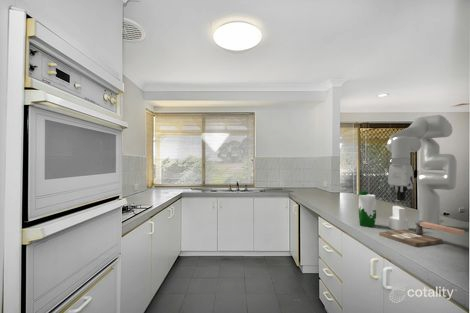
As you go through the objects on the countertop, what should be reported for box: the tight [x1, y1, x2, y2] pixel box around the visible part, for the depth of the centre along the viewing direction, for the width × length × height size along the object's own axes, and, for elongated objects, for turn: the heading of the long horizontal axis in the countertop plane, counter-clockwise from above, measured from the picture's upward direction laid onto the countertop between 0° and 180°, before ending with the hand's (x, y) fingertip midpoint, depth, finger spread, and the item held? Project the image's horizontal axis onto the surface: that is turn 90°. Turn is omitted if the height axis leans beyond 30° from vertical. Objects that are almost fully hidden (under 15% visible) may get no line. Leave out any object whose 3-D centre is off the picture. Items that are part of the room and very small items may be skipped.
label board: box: [378, 225, 444, 248], centre depth 120 cm, size 18×18×6 cm
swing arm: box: [415, 220, 466, 236], centre depth 115 cm, size 19×4×2 cm, turn 19°
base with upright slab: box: [388, 205, 410, 231], centre depth 138 cm, size 9×9×12 cm
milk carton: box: [358, 190, 377, 228], centre depth 145 cm, size 9×9×20 cm
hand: (401, 200), depth 118 cm, fingers closed
